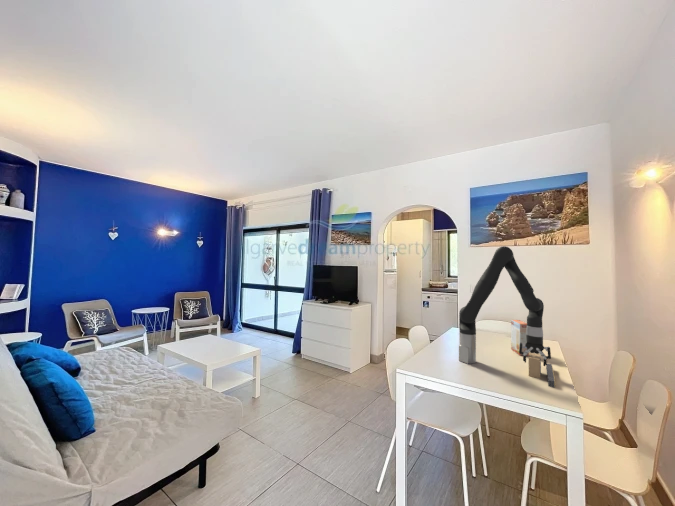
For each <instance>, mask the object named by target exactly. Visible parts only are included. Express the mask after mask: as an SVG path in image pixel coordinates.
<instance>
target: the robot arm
mask: <svg viewBox="0 0 675 506" xmlns="http://www.w3.org/2000/svg"><path fill="white" fill-rule="evenodd" d="M504 268H505V270H506V271H507V273H508V274H509V277H510V279H511V280H512V282H513V285H514V286H515V289H516V290H517V291H518V293H519V294H520V298H521V300H522V302H523V305H524V306H525V308H526V309H527V310H528V315H527V316H526V323H527V328H526V344H524V343H521V342H520V347H519V354H522V355H521V356H522V358H523V359H522V361H523V362H524V364H526V363H527V356H526V354H528V353H534V354H540V357H542V358H543V360H542V361H543V366H544V367H546V365H547V364H548V360H551V359H552V355H551V347H550V346H544V330H543V314H544V308H545V307H544V306H545V305H544V301H542V299H540V298H539V297H536V295H535V293H534V291H535V290H534V288H533V287H532V285H531V283H530V281H529V280H528V279H527V277H526V276H525V274H524V273H523V272H522V270H521V268H520V267H519V266H518V264H517V261H516V259H515V256H514V252H513V249H512V248H510V247H508V246H500V247H497V249H496V250H495V252H494V253H493V256H492V259H491V261H490V263H489V264H488V266H487V268H486V269H485V270H484V272H483V273H482V275H480V277H479V279H478V281H477V282H476V285H475V286H474V289H473V291H472V294H471V296H470V299H469V301H468V302H467V304H466V305H465V306H463V307H461V308H460V309H459V315H458V316H459V317H458V318H459V319H458V320H459V325H458V326H459V345H458V361H459V362H462V363H463V364H464V363H465V364H476V362H477V352H476V351H477V329H476V328H477V327H476V324H477V323H476V319H477V316H478V315H479V313H480V310H481V308H482V306H483V305H484V304H485V303H486V301H487V299H488V298H489V296H490V295H491V293H493V290H494V289H495V287H496V285H497V283H498V281H499V279H500V276H501V273H502V272H503V269H504ZM524 346H526V348H527V350H526V351H525V352H522V347H524ZM543 351H545V352H547V355H546V354H545V353H544V352H543ZM519 354H518V355H519Z"/></svg>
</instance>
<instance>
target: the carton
mask: <svg viewBox="0 0 675 506" xmlns="http://www.w3.org/2000/svg"><path fill="white" fill-rule="evenodd" d="M541 361H542V360H541V354H540V353H539V354H536V353H531V352H529V356H528V377H531V378H537V379H541V375H542V373H541V372H542V365H541V364H542V363H541Z"/></svg>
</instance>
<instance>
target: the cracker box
mask: <svg viewBox="0 0 675 506" xmlns="http://www.w3.org/2000/svg"><path fill="white" fill-rule="evenodd" d="M510 321H511V322H510V324H511V325H510V326H511V327H510V328H511V329H510V337H511V338H510V349H511V350H512V351H514V352H515V353H516V354H518V355H519V356H523V355H522V354H519V347H520V342H521V343H524V344H526V328H527V322H525V321H522V320H520V319H511V320H510ZM526 350H527V348H526V346H524V347H522V352H525V351H526ZM529 353H530V352H529ZM529 353H528V354H526V357H529Z"/></svg>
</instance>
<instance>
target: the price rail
mask: <svg viewBox="0 0 675 506" xmlns="http://www.w3.org/2000/svg"><path fill="white" fill-rule="evenodd" d="M545 368H546V369H545V370H546V376H547V377H546V378H547V379H546V380H547V386H548V387H549V388H555V387H556V378H555V373H554V367H553V365H552V364H551V363H547V365H545Z"/></svg>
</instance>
